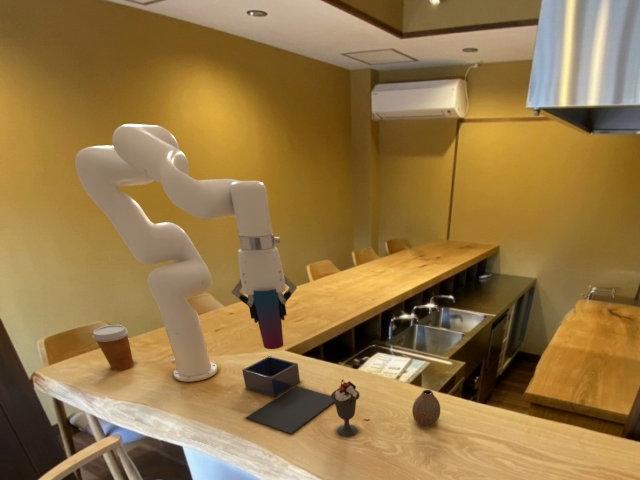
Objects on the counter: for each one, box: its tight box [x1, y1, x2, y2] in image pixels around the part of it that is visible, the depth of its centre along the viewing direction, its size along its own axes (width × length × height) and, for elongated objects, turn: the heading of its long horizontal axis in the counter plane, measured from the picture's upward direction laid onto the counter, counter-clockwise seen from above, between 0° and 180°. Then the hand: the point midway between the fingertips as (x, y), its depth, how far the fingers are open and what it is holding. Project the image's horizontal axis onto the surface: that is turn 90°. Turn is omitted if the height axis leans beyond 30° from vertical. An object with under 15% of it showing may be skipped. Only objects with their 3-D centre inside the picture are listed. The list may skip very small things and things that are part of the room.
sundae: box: [330, 379, 360, 438], centre depth 98 cm, size 7×7×15 cm
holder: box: [241, 355, 301, 399], centre depth 121 cm, size 11×11×6 cm
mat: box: [245, 385, 335, 435], centre depth 112 cm, size 15×20×1 cm
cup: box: [253, 289, 284, 350], centre depth 106 cm, size 7×7×15 cm
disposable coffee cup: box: [92, 324, 135, 371], centre depth 131 cm, size 10×10×12 cm
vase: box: [411, 389, 441, 428], centre depth 103 cm, size 7×7×9 cm
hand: (269, 319), depth 106 cm, fingers closed on cup, 6 cm apart
